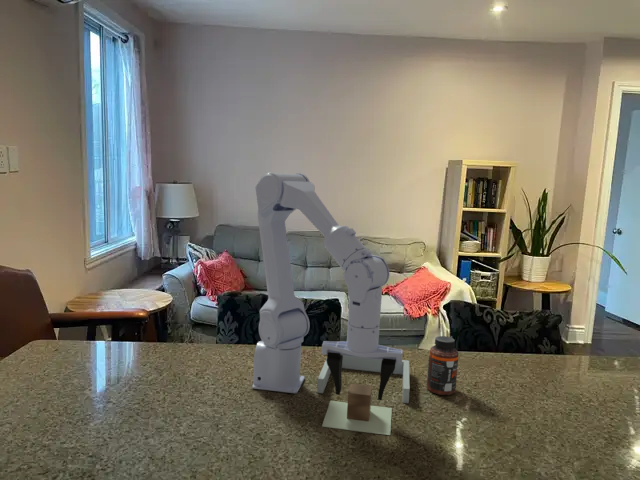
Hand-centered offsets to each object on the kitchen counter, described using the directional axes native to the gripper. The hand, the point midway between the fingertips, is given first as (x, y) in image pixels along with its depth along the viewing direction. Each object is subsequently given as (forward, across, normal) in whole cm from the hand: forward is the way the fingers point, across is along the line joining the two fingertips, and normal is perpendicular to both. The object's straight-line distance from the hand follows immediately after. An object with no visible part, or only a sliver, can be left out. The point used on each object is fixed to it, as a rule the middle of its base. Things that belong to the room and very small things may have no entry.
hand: (359, 394), depth 90 cm
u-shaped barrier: (+4, 0, -15) cm, 16 cm away
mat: (+4, 0, 0) cm, 4 cm away
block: (+4, 0, -1) cm, 4 cm away
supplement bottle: (+4, -16, -16) cm, 23 cm away
